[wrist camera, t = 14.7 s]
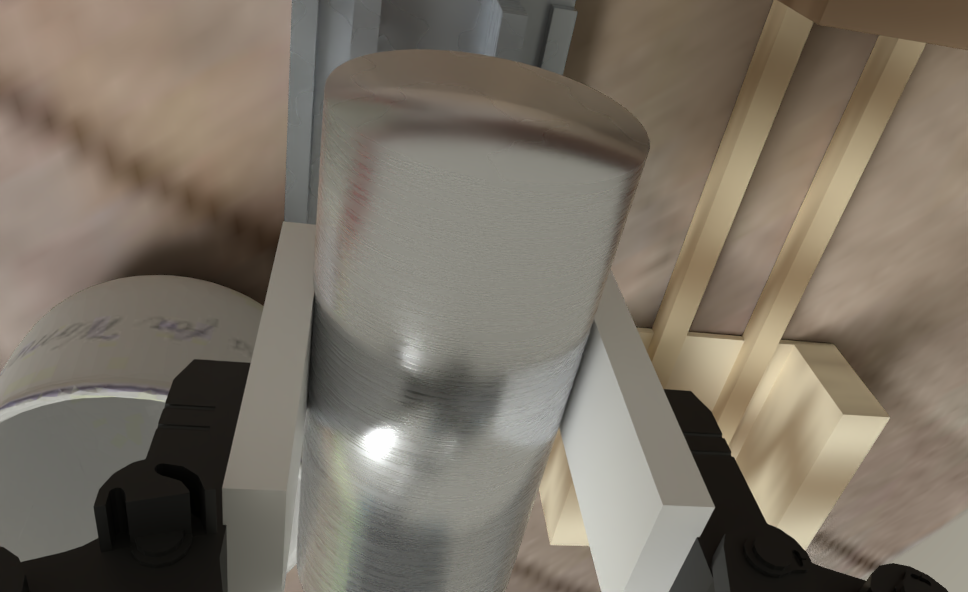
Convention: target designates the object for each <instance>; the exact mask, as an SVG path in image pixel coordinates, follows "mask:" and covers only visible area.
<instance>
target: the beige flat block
mask: <svg viewBox="0 0 968 592" xmlns="http://www.w3.org/2000/svg"><path fill="white" fill-rule="evenodd" d="M813 23H816V24H818V25H821V26H827V27H833V28H839V29H845V30H851V31H857V32H863V33H869V34H875V35H879V37H878V39H877V41H876V43H875V46H874V48H873V50H872V52H871V54H870V57H869V59H868V61H867V63H866V65H865V68H864V70H863V72H862V74H861V76H860V79H859V81H858V83H857V85H856V87H855V89H854V92H853V94H852V96H851V98H850V100H849V103H848V105H847V107H846V109H845V111H844V114H843V116H842V118H841V120H840V122H839V125H838V127H837V129H836V131H835V133H834V136H833V138H832V140H831V142H830V144H829V147H828V149H827V151H826V153H825V155H824V157H823V160H822V162H821V164H820V166H819V168H818V171H817V173H816V175H815V177H814V179H813V182H812V184H811V186H810V188H809V190H808V193H807V195H806V197H805V199H804V201H803V204H802V206H801V208H800V210H799V212H798V214H797V217H796V219H795V221H794V223H793V225H792V228H791V230H790V232H789V234H788V236H787V239H786V241H785V243H784V245H783V247H782V250H781V252H780V254H779V256H778V258H777V261H776V263H775V265H774V267H773V269H772V272H771V274H770V276H769V278H768V280H767V282H766V285H765V287H764V289H763V291H762V293H761V296H760V298H759V300H758V302H757V304H756V307H755V309H754V311H753V313H752V315H751V318H750V320H749V322H748V324H747V326H746V329H745V331H744V333H743V335H742V336H733V335H721V334H709V333H697V332H688V331H689V329H690V326H691V324H692V321H693V319H694V316H695V314H696V311H697V309H698V306H699V304H700V301H701V299H702V296H703V294H704V292H705V289H706V287H707V284H708V282H709V279H710V277H711V274H712V272H713V269H714V267H715V264H716V262H717V259H718V257H719V254H720V252H721V250H722V247H723V245H724V242H725V240H726V237H727V235H728V232H729V230H730V227H731V225H732V222H733V220H734V217H735V215H736V213H737V210H738V208H739V205H740V203H741V200H742V198H743V195H744V193H745V190H746V188H747V185H748V183H749V180H750V178H751V176H752V173H753V171H754V168H755V166H756V163H757V161H758V158H759V156H760V153H761V151H762V148H763V146H764V143H765V141H766V139H767V136H768V134H769V131H770V129H771V126H772V124H773V121H774V119H775V116H776V114H777V111H778V109H779V106H780V104H781V102H782V99H783V97H784V94H785V92H786V89H787V87H788V84H789V82H790V79H791V77H792V74H793V72H794V69H795V67H796V65H797V62H798V60H799V57H800V55H801V52H802V50H803V47H804V45H805V42H806V40H807V37H808V35H809V32H810V30H811V28H812V25H813ZM926 43H928V44H934V45H940V46H946V47H952V48H958V49H964V50H968V0H774V1H773V4H772V6H771V9H770V12H769V14H768V17H767V20H766V22H765V25H764V28H763V30H762V33H761V36H760V39H759V41H758V44H757V47H756V49H755V52H754V55H753V57H752V60H751V63H750V65H749V68H748V71H747V74H746V76H745V79H744V82H743V84H742V87H741V90H740V92H739V95H738V98H737V101H736V103H735V106H734V109H733V111H732V114H731V117H730V119H729V122H728V125H727V127H726V130H725V133H724V136H723V138H722V141H721V144H720V146H719V149H718V152H717V154H716V157H715V160H714V162H713V165H712V168H711V171H710V173H709V176H708V179H707V181H706V184H705V187H704V189H703V192H702V195H701V198H700V200H699V203H698V206H697V208H696V211H695V214H694V216H693V219H692V222H691V224H690V227H689V230H688V233H687V235H686V238H685V241H684V243H683V246H682V249H681V251H680V254H679V257H678V259H677V262H676V265H675V268H674V270H673V273H672V276H671V278H670V281H669V284H668V286H667V289H666V292H665V294H664V297H663V300H662V303H661V305H660V308H659V311H658V313H657V316H656V319H655V321H654V324H653V327H652V329H648V328H637V330H638V333H639V335H640V337H641V339H642V342H643V344H644V346H645V348H646V351H647V353H648V355H649V358H650V360H651V362H652V364H653V367H654V369H655V371H656V374H657V376H658V378H659V380H660V383H661V385H662V387H663V389H671V390H685V391H692V392H693V393H694V395H695V396H696V397H697V398H698V399H699V400H700V401H701V402H702V403H703V404H704V405H705V406H706V407H707V408H708V409H709V410H710V411H711V412H712V414H713V416H714V418H715V420H716V422H717V424H718V426H719V428H720V430H721V432H722V438H725V440H726V442H727V444H728V446H729V448H730V450H731V456H732V457H734V458H735V460H736V462H737V464H738V466H739V468H740V470H741V472H742V474H743V476H744V478H745V480H746V482H747V484H748V486H749V488H750V490H751V492H752V494H753V496H754V498H755V500H756V502H757V504H758V506H759V508H760V510H761V512H762V514H763V516H764V518H765V520H766V522H767V524H769V525H772V526H774V527H777V528H779V529H781V530H782V531H784V532H785V533H786V534H788V535H789V536H791V537H792V538H794V539H795V540H796V541H797V542H798V543H799V545H800V546H801V547H802V548H803V549H804V550H806V549H807V547H808V546H809V544H810V542H811V541H812V539H813V538H814V536H815V535H816V533H817V532H818V530H819V528H820V527H821V525H822V524H823V522H824V521H825V519H826V517H827V516H828V514H829V513H830V511H831V510H832V508H833V506H834V505H835V503H836V502H837V500H838V499H839V497H840V496H841V494H842V492H843V491H844V489H845V488H846V486H847V485H848V483H849V481H850V480H851V478H852V477H853V475H854V474H855V472H856V470H857V469H858V467H859V466H860V464H861V463H862V461H863V460H864V458H865V456H866V455H867V453H868V452H869V450H870V449H871V447H872V445H873V444H874V442H875V441H876V439H877V438H878V436H879V434H880V433H881V431H882V430H883V428H884V427H885V425H886V424H887V422H888V420H889V419H890V416H889V415H888V414H887V413H886V411H885V410H884V409H883V407H882V406H881V405H880V404H879V402H878V401H877V400H876V398H875V397H874V396H873V394H872V393H871V392H870V391H869V389H868V388H867V387H866V385H865V384H864V383H863V382H862V380H861V379H860V378H859V376H858V375H857V374H856V372H855V371H854V370H853V369H852V367H851V366H850V365H849V363H848V362H847V361H846V360H845V358H844V357H843V356H842V354H841V353H840V352H839V351H838V349H837V348H836V347H835V345H834V344H829V343H817V342H805V341H793V340H781V337H782V335H783V333H784V331H785V329H786V327H787V325H788V323H789V321H790V319H791V317H792V315H793V313H794V311H795V309H796V307H797V305H798V303H799V301H800V299H801V297H802V295H803V293H804V291H805V289H806V287H807V285H808V283H809V281H810V279H811V277H812V275H813V272H814V270H815V268H816V266H817V264H818V262H819V260H820V258H821V256H822V254H823V252H824V250H825V248H826V246H827V244H828V242H829V240H830V238H831V236H832V234H833V232H834V230H835V228H836V226H837V224H838V222H839V220H840V218H841V216H842V214H843V212H844V210H845V208H846V205H847V203H848V201H849V199H850V197H851V195H852V193H853V191H854V189H855V187H856V185H857V183H858V181H859V179H860V177H861V175H862V173H863V171H864V169H865V167H866V165H867V163H868V161H869V159H870V157H871V155H872V153H873V151H874V149H875V147H876V145H877V143H878V141H879V138H880V136H881V134H882V132H883V130H884V128H885V126H886V124H887V122H888V120H889V118H890V116H891V114H892V112H893V110H894V108H895V106H896V104H897V102H898V100H899V98H900V96H901V94H902V92H903V90H904V88H905V86H906V84H907V82H908V80H909V78H910V76H911V74H912V72H913V69H914V67H915V65H916V63H917V61H918V59H919V57H920V55H921V53H922V51H923V49H924V47H925V45H926ZM539 493H540V498H541V502H542V507H543V512H544V517H545V521H546V526H547V531H548V536H549V541H550V545H570V546H589V542H588V538H587V534H586V530H585V526H584V523H583V519H582V515H581V511H580V507H579V503H578V499H577V495H576V491H575V487H574V484H573V480H572V476H571V472H570V468H569V464H568V460H567V456H566V452H565V448H564V444H563V441H562V437H561V433H560V429H559V428H558V431H557V434H556V437H555V440H554V443H553V447H552V450H551V453H550V456H549V459H548V462H547V465H546V468H545V471H544V474H543V477H542V480H541V483H540V486H539Z"/></svg>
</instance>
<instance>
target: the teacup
mask: <svg viewBox="0 0 968 592" xmlns="http://www.w3.org/2000/svg"><path fill="white" fill-rule="evenodd" d="M263 307H264V306H263V305H261V304H260V303H258V302H256V301H255V300H253V299H251V298H250V297H248V296H246V295H244V294H242V293H240V292H237V291H235V290H232V289H230V288H227V287H224V286H221V285H218V284H216V283H213V282H208V281H204V280H199V279H194V278H189V277H182V276H174V275H142V276H133V277H126V278H119V279H115V280H111V281H107V282H104V283H101V284H97V285H94V286H92V287H89V288H87V289H85V290H82V291H80V292H78V293H76V294H74V295H72V296H70V297H69V298H67V299H66V300H64V301H63V302H61V303H60V304H58V305H57V306H55V307H54V308H52V309H51V310H50V311H49V312H48V313H47V314H46V315H45V316H43V317H42V318H41V319H40V320H39V321H38V322H37V323H36V324H35V325H34V327H33V328H32V329H31V330H30V331H29V332H28V334H27V335H26V336H25V337H24V339H23V340H22V341H21V343H20V344H19V345H18V346H17V348H16V349H15V351H14V352H13V354H12V355H11V357H10V358H9V360H8V362H7V363H6V365H5V366H4V368H3V370H2V371H1V373H0V546H1V547H4V548H6V549H7V550H9V551H10V552H11V553H13V554H14V555H16V556H17V557H19V560H20V562H23V561H27V560H32V559H36V558H40V557H44V556H49V555H53V554H57V553H61V552H65V551H68V550H71V549H75V548H78V547H81V546H83V545H85V544H87V543H89V542H91V541H93V540H95V539H97V538H98V532H97V526H96V520H95V514H94V508H93V506H94V503H95V500H96V497H97V494H98V491H99V489H100V488H101V487H102V485H103V484H104V483H105V482H106V481H107V480H108V479H109V478H110V477H111V475H112V474H113V473H115V472H117V471H119V470H120V469H122V468H124V467H126V466H127V465H129V464H131V463H133V462H136V461H140V460H144V459H146V457H147V454H148V451H149V448H150V445H151V442H152V439H153V436H154V434H155V431H156V429H157V428H158V422H159V419H160V416H161V413H162V411H163V409H164V408H165V402H166V399H167V396H168V393H169V390H170V388H171V385H172V382H173V379H174V378H175V377H176V376H177V375H178V374H179V373H180V372H181V371H182V370H183V369H185V368H186V367H187V366H188V365H189V364H190V363H191V362H192V361H193V360H194V359H202V360H217V361H232V362H247V363H251V360H252V355H253V351H254V347H255V342H256V338H257V334H258V329H259V325H260V321H261V316H262V312H263ZM302 451H303V444H302ZM301 468H302V452H301V460H300V468H299V476H298V484H297V492H296V500H295V508H294V516H293V524H292V532H291V540H290V548H289V556H288V564H287V572H286V573H288V572H289V571H290V570H291V569H292V568H293V567H294V566H295V565H296V564H297V557H296V551H297V534H298V518H299V501H300V485H301Z"/></svg>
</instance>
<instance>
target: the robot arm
mask: <svg viewBox="0 0 968 592" xmlns="http://www.w3.org/2000/svg"><path fill="white" fill-rule="evenodd" d="M315 236H316V225H314V224H304V223H294V222H284V221H283V224H282V229H281V233H280V237H279V242H278V246H277V251H276V255H275V259H274V264H273V268H272V272H271V277H270V281H269V286H268V290H267V294H266V299H265V303H264V307H263V312H262V316H261V321H260V325H259V329H258V334H257V338H256V342H255V347H254V351H253V355H252V360H251V363H247V362H232V361H217V360H202V359H194V360H193V361H192V362H191V363H190V364H189V365H188V366H187V367H186V368H185V369H183V370H182V371H181V372H180V373H179V374H178V375H177V376H176V377H175V378H174V379H173V382H172V385H171V388H170V390H169V393H168V396H167V399H166V402H165V408H164V409H163V411H162V413H161V416H160V419H159V422H158V428H157V429H156V431H155V434H154V436H153V439H152V442H151V445H150V448H149V451H148V454H147V457H146V459H144V460H140V461H136V462H133V463H131V464H129V465H127V466H126V467H124V468H122V469H120V470H119V471H117V472H115V473H113V474H112V475H111V477H110V478H109V479H108V480H107V481H106V482H105V483H104V484H103V485H102V487H101V488H100V489H99V491H98V494H97V497H96V500H95V503H94V506H93V508H94V514H95V520H96V526H97V532H98V538H97V539H95V540H93V541H91V542H89V543H87V544H85V545H83V546H81V547H78V548H75V549H71V550H68V551H65V552H61V553H57V554H53V555H49V556H44V557H40V558H36V559H32V560H27V561H23V562H20V560H19V557H17V556H16V555H14V554H13V553H11V552H10V551H9V550H7V549H6V548H4V547H1V546H0V592H284V588H285V580H286V572H287V564H288V556H289V548H290V540H291V532H292V524H293V516H294V508H295V500H296V492H297V484H298V476H299V468H300V460H301V452H302V444H303V436H304V428H305V420H306V412H307V401H308V385H309V369H310V353H311V337H312V321H313V305H314V286H313V269H314V252H315ZM559 429H560V433H561V437H562V441H563V444H564V448H565V452H566V456H567V460H568V464H569V468H570V472H571V476H572V480H573V484H574V487H575V491H576V495H577V499H578V503H579V507H580V511H581V515H582V519H583V523H584V526H585V530H586V534H587V538H588V542H589V546H590V550H591V554H592V558H593V562H594V566H595V569H596V573H597V577H598V581H599V585H600V589H601V592H948V591H947V590H946V589H945V588H944V587H943V586H942V585H940V584H939V583H938V582H936V581H935V580H934V579H932V578H931V577H930V576H928V575H926V574H924V573H922V572H920V571H918V570H916V569H914V568H912V567H909V566H904V565H899V564H894V563H892V564H886V565H881V566H879V567H878V568H877V569H876V570H875V571H874V572H873V573H872V574H871V575H870V577H869V578H868V579H867V581H865V580H862V579H858V578H855V577H852V576H849V575H846V574H843V573H839V572H836V571H833V570H830V569H827V568H823V567H821V566H818V565H816V564H813V563H812V562H811V560H810V558H809V556H808V554H807V552H806V551H805V550H804V549H803V548H802V547H801V546H800V545H799V543H798V542H797V541H796V540H795V539H794V538H792V537H791V536H789V535H788V534H786V533H785V532H784V531H782V530H781V529H779V528H777V527H774V526H772V525H769V524H767V522H766V520H765V518H764V516H763V514H762V512H761V510H760V508H759V506H758V504H757V502H756V500H755V498H754V496H753V494H752V492H751V490H750V488H749V486H748V484H747V482H746V480H745V478H744V476H743V474H742V472H741V470H740V468H739V466H738V464H737V462H736V460H735V458H734V457H732V456H731V450H730V448H729V446H728V444H727V442H726V440H725V438H722V432H721V430H720V428H719V426H718V424H717V422H716V420H715V418H714V416H713V414H712V412H711V411H710V410H709V409H708V408H707V407H706V406H705V405H704V404H703V403H702V402H701V401H700V400H699V399H698V398H697V397H696V396H695V395H694V393H693V392H692V391H685V390H671V389H663V387H662V385H661V383H660V380H659V378H658V376H657V374H656V371H655V369H654V367H653V364H652V362H651V360H650V358H649V355H648V353H647V351H646V348H645V346H644V344H643V342H642V339H641V337H640V335H639V333H638V330H637V328H636V326H635V323H634V321H633V319H632V317H631V314H630V312H629V310H628V307H627V305H626V303H625V301H624V298H623V296H622V294H621V291H620V289H619V287H618V285H617V282H616V280H615V278H614V276H613V273H612V271H611V269H610V272H609V275H608V278H607V281H606V284H605V287H604V290H603V293H602V296H601V299H600V302H599V305H598V308H597V312H596V315H595V318H594V321H593V324H592V327H591V330H590V333H589V336H588V339H587V342H586V345H585V348H584V351H583V354H582V358H581V361H580V364H579V367H578V370H577V373H576V376H575V379H574V382H573V385H572V388H571V391H570V394H569V397H568V401H567V404H566V407H565V410H564V413H563V416H562V419H561V422H560V425H559Z"/></svg>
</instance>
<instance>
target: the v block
mask: <svg viewBox="0 0 968 592" xmlns="http://www.w3.org/2000/svg"><path fill="white" fill-rule="evenodd" d="M575 2H576V0H292V15H291V44H290V73H289V101H288V130H287V159H286V187H285V216H284V222H294V223H304V224H314V225H316V219H317V202H318V186H319V169H320V153H321V136H322V119H323V103H324V87H325V83H326V79H327V78H328V76H329V75H330V73H331V72H332V71H333V70H334V69H336V68H337V67H338V66H340V65H341V64H343V63H345V62H347V61H349V60H352V59H354V58H357V57H360V56H364V55H368V54H372V53H378V52H384V51H393V50H409V49H432V50H448V51H458V52H468V53H475V54H481V55H487V56H493V57H498V58H503V59H507V60H512V61H516V62H520V63H524V64H528V65H531V66H535V67H539V68H542V69H545V70H548V71H551V72H554V73H557V74H560V75H562V76H563V72H564V68H565V64H566V59H567V55H568V51H569V47H570V42H571V38H572V34H573V30H574V25H575V21H576V17H577V13H578V11H577V10H576V9H575V8H574V6H575Z"/></svg>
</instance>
